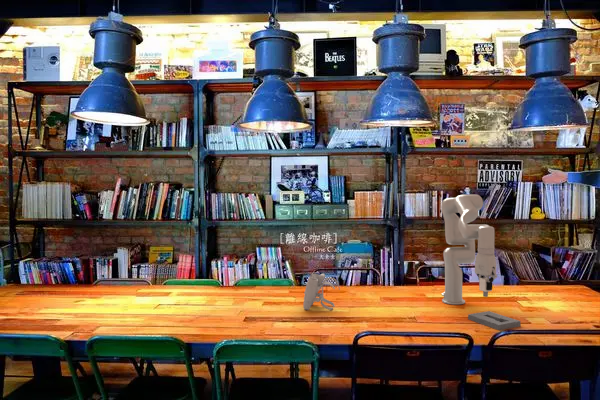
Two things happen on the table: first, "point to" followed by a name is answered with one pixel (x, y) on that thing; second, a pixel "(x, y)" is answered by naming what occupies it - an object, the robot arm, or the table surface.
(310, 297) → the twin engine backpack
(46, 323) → the table surface
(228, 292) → the table surface
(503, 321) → the keyhole plate
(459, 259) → the robot arm
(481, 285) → the peg
